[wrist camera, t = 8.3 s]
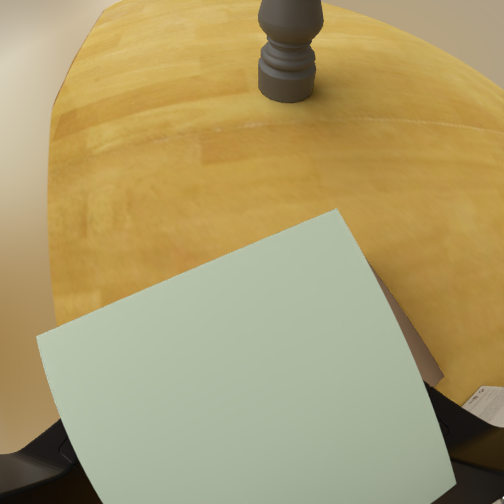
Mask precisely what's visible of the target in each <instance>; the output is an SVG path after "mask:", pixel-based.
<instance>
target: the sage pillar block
mask: <svg viewBox="0 0 504 504" xmlns="http://www.w3.org/2000/svg"><path fill="white" fill-rule="evenodd" d="M36 338H37V343H38V347H39V351H40V354H41V359H42V362H43V365H44V369H45V373H46V376H47V380H48V383H49V386H50V389H51V392H52V395H53V398H54V401H55V404H56V407H57V409H58V412H59V414H60V417H61V420H62V422H63V425H64V427H65V430H66V432H67V435H68V437H69V439H70V441H71V444H72V446H73V448H74V450H75V452H76V454H77V457H78V459H79V461H80V463H81V465H82V467H83V469H84V471H85V472H86V474H87V476H88V478H89V480H90V482H91V484H92V485H93V487H94V489H95V491H96V492H97V494H98V496H99V497H100V499H101V501H102V502H103V504H431V503H432V502H433V501H435V500H436V499H437V498H439V497H440V496H441V495H443V494H444V493H445V492H447V491H448V490H449V489H450V488H452V487H453V486H454V485H455V484H456V480H455V477H454V473H453V469H452V465H451V462H450V458H449V455H448V452H447V448H446V445H445V442H444V439H443V436H442V433H441V430H440V427H439V424H438V421H437V418H436V415H435V412H434V409H433V406H432V404H431V401H430V398H429V396H428V393H427V390H426V388H425V385H424V383H423V380H422V378H421V375H420V373H419V370H418V368H417V365H416V363H415V361H414V358H413V356H412V353H411V351H410V349H409V347H408V344H407V342H406V340H405V337H404V335H403V333H402V331H401V329H400V326H399V324H398V322H397V320H396V318H395V316H394V314H393V312H392V310H391V307H390V305H389V303H388V301H387V299H386V297H385V295H384V293H383V291H382V289H381V287H380V285H379V283H378V281H377V279H376V277H375V276H374V274H373V272H372V270H371V268H370V266H369V264H368V262H367V260H366V259H365V257H364V255H363V253H362V251H361V249H360V248H359V246H358V244H357V242H356V240H355V239H354V237H353V235H352V233H351V232H350V230H349V228H348V226H347V225H346V223H345V221H344V220H343V218H342V216H341V214H340V213H339V211H338V209H337V208H336V209H334V210H332V211H329V212H327V213H324V214H322V215H319V216H317V217H315V218H312V219H310V220H307V221H305V222H303V223H300V224H298V225H295V226H293V227H291V228H288V229H286V230H283V231H281V232H279V233H276V234H274V235H272V236H269V237H267V238H264V239H262V240H260V241H257V242H255V243H252V244H250V245H248V246H245V247H243V248H241V249H238V250H236V251H233V252H231V253H229V254H226V255H224V256H222V257H219V258H217V259H215V260H212V261H210V262H207V263H205V264H203V265H200V266H198V267H196V268H193V269H191V270H189V271H186V272H184V273H182V274H179V275H177V276H175V277H172V278H170V279H168V280H165V281H163V282H161V283H158V284H156V285H154V286H151V287H149V288H147V289H144V290H142V291H140V292H137V293H135V294H133V295H130V296H128V297H126V298H123V299H121V300H119V301H116V302H114V303H112V304H109V305H107V306H105V307H102V308H100V309H98V310H96V311H93V312H91V313H89V314H86V315H84V316H82V317H79V318H77V319H75V320H73V321H70V322H68V323H66V324H63V325H61V326H59V327H57V328H54V329H52V330H50V331H47V332H45V333H43V334H41V335H38V336H36Z"/></svg>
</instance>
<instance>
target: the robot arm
mask: <svg viewBox="0 0 504 504" xmlns="http://www.w3.org/2000/svg"><path fill="white" fill-rule="evenodd" d="M422 380H423V379H422ZM423 383H424V385H425V388H426V390H427V393H428V396H429V398H430V401H431V404H432V406H433V409H434V412H435V415H436V418H437V421H438V424H439V427H440V430H441V433H442V436H443V439H444V442H445V445H446V448H447V452H448V455H449V458H450V462H451V465H452V469H453V473H454V477H455V480H456V484H455V485H454V486H453V487H452V488H450V489H449V490H448V491H447V492H445V493H444V494H443V495H441V496H440V497H439V498H437V499H436V500H435V501H433V502H432V503H431V504H504V427H498V426H494V425H492V424H489V423H488V422H486V421H484V420H482V419H481V418H479V417H477V416H476V415H474V414H472V413H471V412H469V411H467V410H466V409H464V408H462V407H461V406H459V405H458V404H456V403H454V402H453V401H451V400H450V399H448V398H447V397H446V396H444V395H443V394H441V393H440V392H439V391H437V390H436V389H435V388H434V387H432V386H430V385H429V384H428V383H427V382H426V381H424V380H423ZM0 504H103V502H102V501H101V499H100V497H99V496H98V494H97V492H96V491H95V489H94V487H93V485H92V484H91V482H90V480H89V478H88V476H87V474H86V472H85V471H84V469H83V467H82V465H81V463H80V461H79V459H78V457H77V454H76V452H75V450H74V448H73V446H72V444H71V441H70V439H69V437H68V435H67V432H66V430H65V427H64V425H63V422H62V420H61V418H60V419H59V420H58V421H57V422H56V423H54V424H53V425H52V426H51V427H50V428H48V429H47V430H46V431H45V432H43V433H42V434H41V435H40V436H38V437H37V438H36V439H34V440H33V441H32V442H30V443H29V444H28V445H26V446H25V447H24V448H22V449H21V450H19V451H17V452H14V453H10V454H1V455H0Z"/></svg>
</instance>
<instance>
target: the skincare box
mask: <svg viewBox="0 0 504 504" xmlns="http://www.w3.org/2000/svg"><path fill="white" fill-rule="evenodd" d="M462 408H464V409H466V410H467V411H469V412H471V413H472V414H474V415H476V416H477V417H479V418H481V419H482V420H484V421H486V422H488V423H489V424H492V425H494V426H498V427H504V387H496V386H481V387H480V388H479V389H478V390H477V391H476V392H475V393H474V394H473V396H472V397H471V398H470V399H469V400H468V401H467V402H466V403H465V404H464V405H463V406H462Z"/></svg>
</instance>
